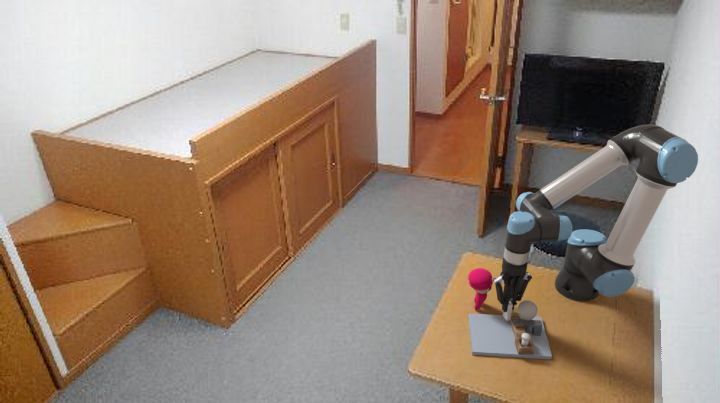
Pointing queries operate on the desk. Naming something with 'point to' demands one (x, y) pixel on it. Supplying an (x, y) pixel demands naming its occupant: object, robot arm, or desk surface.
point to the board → (503, 338)
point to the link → (520, 335)
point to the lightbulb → (527, 310)
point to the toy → (480, 285)
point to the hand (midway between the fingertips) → (506, 317)
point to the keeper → (530, 325)
